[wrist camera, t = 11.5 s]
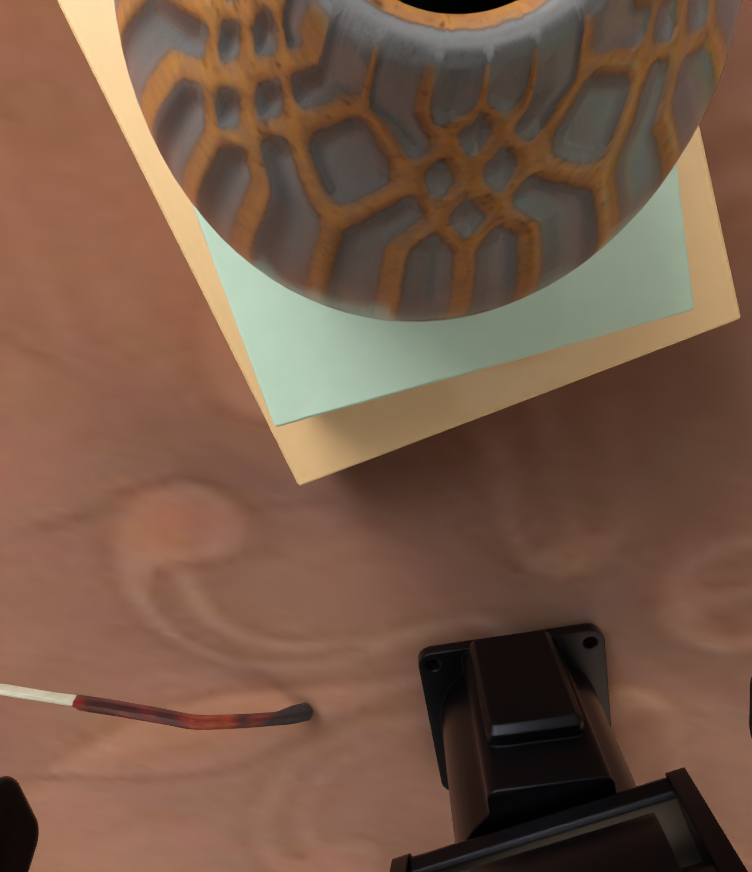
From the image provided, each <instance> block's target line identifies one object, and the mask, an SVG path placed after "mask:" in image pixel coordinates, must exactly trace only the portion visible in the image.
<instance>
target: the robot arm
mask: <svg viewBox="0 0 752 872" xmlns="http://www.w3.org/2000/svg"><path fill="white" fill-rule="evenodd" d="M587 637H593V638H592V639H591V640H590V641H583V640H584V639H585V638H587ZM432 659H433V660H437V662H436V663H434V664H432V663H428V661H429V660H432ZM418 661H419V670H420V675H421V680H422V685H423V690H424V695H425V700H426V705H427V710H428V715H429V720H430V725H431V730H432V736H433V741H434V746H435V751H436V756H437V761H438V766H439V771H440V776H441V781H442V784H443V786H444V787H445V788H446V789H448V790H449V794H450V803H451V811H452V820H453V829H454V837H455V844H452V845H449V846H445V847H442V848H439V849H436V850H433V851H429V852H426V853H423V854H420V855H417V856H413V857H412V855H411V854H407V855H404V856H401V857H398V858H394V859H393V860H392V863H391V869H390V872H748V871H747V870H746V868H745V866H744V865H743V863H742V861H741V860H740V858H739V856H738V855H737V853H736V851H735V850H734V848H733V847H732V845H731V843H730V842H729V840H728V838H727V837H726V835H725V833H724V832H723V830H722V828H721V827H720V825H719V823H718V822H717V820H716V819H715V817H714V815H713V814H712V812H711V810H710V809H709V807H708V805H707V804H706V802H705V800H704V799H703V797H702V795H701V794H700V792H699V791H698V789H697V787H696V786H695V784H694V782H693V781H692V779H691V777H690V776H689V774H688V772H687V771H686V769H685V768H681V769H678V770H674V771H671V772H668V773H665V774H666V778H662V779H659V780H656V781H653V782H650V783H646V784H643V785H640V786H636V784H635V782H634V780H633V777H632V775H631V773H630V770H629V768H628V766H627V764H626V761H625V759H624V757H623V754H622V752H621V750H620V748H619V745H618V743H617V741H616V738H615V736H614V734H613V732H612V729H611V720H610V707H609V693H608V680H607V666H606V653H605V640H604V637H603V635H602V633H601V631H600V629H599V628H598V627H597V626H596V625H593V624H580V625H573V626H566V627H560V628H553V629H546V630H539V631H532V632H525V633H519V634H512V635H505V636H498V637H491V638H484V639H478V640H471V641H464V642H457V643H450V644H443V645H437V646H430V647H427V648H424V649H423V650H422V651H421V652H420V654H419V657H418ZM749 727H750V734H751V737H752V677H751V681H750V715H749ZM38 834H39V829H38V822H37V819H36V817H35V815H34V813H33V811H32V809H31V807H30V805H29V803H28V801H27V799H26V797H25V795H24V793H23V791H22V789H21V787H20V785H19V783H18V782H17V780H15V779H14V778H12V777H9V776H3V777H0V872H28V871H29V868H30V865H31V862H32V859H33V855H34V852H35V849H36V846H37V841H38Z"/></svg>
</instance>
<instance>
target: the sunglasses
mask: <svg viewBox="0 0 752 872" xmlns="http://www.w3.org/2000/svg"><path fill="white" fill-rule="evenodd" d="M0 695H4V696H10V697H16V698H22V699H28V700H35V701H41V702H48V703H55V704H61V705H68V706H73V707H75V708H76V709H77V710H79V711H86V712H92V713H99V714H105V715H112V716H119V717H124V718H130V719H136V720H142V721H148V722H153V723H159V724H165V725H170V726H175V727H180V728H185V729H194V730H212V729H235V728H251V727H263V726H275V725H288V724H294V723H300V722H304V721H308V720H310V719H311V718H312V716H313V710H312V709H311V708H310V706H309V705H308V704H307V703H303V704H298V705H293V706H291V707H288V708H285V709H283V710H280V711H277V712H271V713H256V714H234V715H193V714H187V713H182V712H177V711H172V710H167V709H161V708H156V707H150V706H145V705H139V704H134V703H128V702H122V701H117V700H110V699H103V698H96V697H90V696H83V695H73V694H65V693H58V692H50V691H44V690H38V689H32V688H26V687H20V686H14V685H8V684H2V683H0Z"/></svg>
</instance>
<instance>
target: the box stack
mask: <svg viewBox="0 0 752 872" xmlns="http://www.w3.org/2000/svg"><path fill="white" fill-rule="evenodd" d="M57 1H58V3H59V5H60V7H61V9H62V11H63V13H64V15H65V17H66V19H67V21H68V23H69V25H70V27H71V29H72V31H73V33H74V35H75V37H76V39H77V41H78V43H79V45H80V47H81V49H82V51H83V53H84V55H85V57H86V59H87V61H88V64H89V66H90V68H91V70H92V72H93V74H94V76H95V78H96V80H97V82H98V84H99V86H100V88H101V90H102V92H103V94H104V96H105V98H106V100H107V102H108V104H109V106H110V108H111V110H112V112H113V114H114V116H115V118H116V120H117V122H118V124H119V126H120V128H121V130H122V132H123V134H124V136H125V138H126V140H127V142H128V144H129V146H130V148H131V150H132V152H133V154H134V156H135V158H136V160H137V162H138V164H139V166H140V168H141V170H142V172H143V174H144V176H145V178H146V180H147V182H148V184H149V186H150V188H151V190H152V192H153V194H154V196H155V198H156V200H157V202H158V204H159V206H160V208H161V210H162V212H163V214H164V216H165V218H166V220H167V222H168V224H169V226H170V228H171V230H172V232H173V234H174V236H175V238H176V240H177V242H178V244H179V246H180V248H181V250H182V252H183V254H184V256H185V258H186V260H187V262H188V264H189V266H190V268H191V270H192V272H193V274H194V277H195V279H196V281H197V283H198V285H199V287H200V289H201V291H202V293H203V295H204V297H205V299H206V301H207V303H208V305H209V307H210V309H211V311H212V313H213V315H214V317H215V319H216V321H217V323H218V325H219V327H220V329H221V331H222V333H223V335H224V337H225V339H226V341H227V343H228V345H229V347H230V349H231V351H232V353H233V355H234V357H235V359H236V361H237V363H238V365H239V367H240V369H241V371H242V373H243V375H244V377H245V379H246V381H247V383H248V385H249V387H250V389H251V391H252V393H253V395H254V397H255V399H256V401H257V403H258V405H259V407H260V409H261V411H262V413H263V415H264V417H265V419H266V421H267V423H268V425H269V427H270V429H271V431H272V433H273V435H274V437H275V439H276V441H277V443H278V445H279V447H280V449H281V451H282V453H283V455H284V457H285V459H286V461H287V463H288V465H289V467H290V469H291V471H292V473H293V475H294V477H295V479H296V481H297V483H298V485H299V486H301V485H304V484H307V483H309V482H312V481H315V480H317V479H320V478H322V477H325V476H328V475H330V474H333V473H336V472H338V471H341V470H343V469H346V468H349V467H351V466H354V465H357V464H359V463H362V462H365V461H367V460H370V459H372V458H375V457H378V456H380V455H383V454H386V453H388V452H391V451H393V450H396V449H399V448H401V447H404V446H407V445H409V444H412V443H414V442H417V441H420V440H422V439H425V438H428V437H430V436H433V435H435V434H438V433H441V432H443V431H446V430H449V429H451V428H454V427H457V426H459V425H462V424H464V423H467V422H470V421H472V420H475V419H478V418H480V417H483V416H485V415H488V414H491V413H493V412H496V411H499V410H501V409H504V408H506V407H509V406H512V405H514V404H517V403H520V402H522V401H525V400H527V399H530V398H533V397H535V396H538V395H541V394H543V393H546V392H548V391H551V390H554V389H556V388H559V387H562V386H564V385H567V384H570V383H572V382H575V381H577V380H580V379H583V378H585V377H588V376H591V375H593V374H596V373H598V372H601V371H604V370H606V369H609V368H612V367H614V366H617V365H619V364H622V363H625V362H627V361H630V360H633V359H635V358H638V357H640V356H643V355H646V354H648V353H651V352H654V351H656V350H659V349H662V348H664V347H667V346H669V345H672V344H675V343H677V342H680V341H683V340H685V339H688V338H690V337H693V336H696V335H698V334H701V333H704V332H706V331H709V330H711V329H714V328H717V327H719V326H722V325H725V324H727V323H730V322H732V321H735V320H738V319H739V318H740V312H739V307H738V302H737V298H736V293H735V289H734V284H733V279H732V275H731V270H730V266H729V261H728V256H727V252H726V247H725V243H724V238H723V233H722V229H721V224H720V220H719V215H718V210H717V206H716V201H715V197H714V192H713V187H712V183H711V178H710V174H709V169H708V164H707V160H706V155H705V151H704V146H703V141H702V137H701V132H700V128H699V125H698V127H697V129H696V131H695V132H694V134H693V136H692V138H691V140H690V141H689V143H688V145H687V146H686V148H685V150H684V151H683V153H682V154H681V156H680V158H679V159H678V161H677V163H676V164H675V166H674V167H673V169H672V170H671V172H670V173H669V175H668V176H667V177H666V179H665V180H664V182H663V183H662V184H661V186H660V187H659V189H658V190H657V191H656V192H655V194H654V195H653V196H652V197H651V199H650V200H649V201H648V202H647V203H646V205H645V206H644V207H643V208H642V209H641V210H640V212H639V213H638V214H637V215H636V216H635V217H634V218H633V219H632V220H631V221H630V222H629V223H628V224H627V225H626V226H625V227H624V228H623V229H622V230H621V231H620V232H619V233H618V234H617V235H616V236H615V237H614V238H613V239H612V240H611V241H610V242H609V243H607V244H606V245H605V246H604V247H603V248H602V249H601V250H599V251H598V252H597V253H596V254H595V255H593V256H592V257H591V258H590V259H588V260H587V261H586V262H585V263H583V264H582V265H580V266H579V267H577V268H576V269H574V270H573V271H572V272H570V273H569V274H567V275H566V276H564V277H562V278H561V279H559V280H557V281H556V282H554V283H552V284H551V285H549V286H547V287H545V288H543V289H541V290H539V291H537V292H535V293H533V294H531V295H529V296H527V297H525V298H523V299H521V300H518V301H516V302H513V303H511V304H508V305H506V306H503V307H500V308H497V309H494V310H491V311H487V312H484V313H480V314H476V315H472V316H467V317H463V318H456V319H450V320H442V321H430V322H399V321H386V320H379V319H373V318H366V317H362V316H357V315H353V314H349V313H345V312H342V311H339V310H336V309H333V308H330V307H326V306H324V305H321V304H319V303H317V302H314V301H312V300H309V299H307V298H305V297H303V296H301V295H299V294H297V293H295V292H293V291H291V290H289V289H287V288H286V287H284V286H282V285H281V284H279V283H277V282H276V281H274V280H272V279H271V278H269V277H268V276H266V275H265V274H264V273H262V272H261V271H259V270H258V269H257V268H255V267H254V266H252V265H251V264H250V263H249V262H248V261H246V260H245V259H244V258H243V257H242V256H240V255H239V254H238V253H237V252H236V251H235V250H234V249H233V248H231V247H230V246H229V245H228V244H227V243H226V242H225V241H224V240H223V239H222V238H221V237H220V236H219V235H218V234H217V233H216V231H215V230H214V229H213V228H212V227H211V226H210V225H209V224H208V223H207V221H206V220H205V219H204V218H203V217H202V215H201V214H200V213H199V211H198V210H197V209H196V208H195V206H194V205H193V204H192V202H191V201H190V200H189V199H188V197H187V196H186V194H185V193H184V191H183V190H182V188H181V187H180V185H179V184H178V182H177V181H176V180H175V178H174V176H173V175H172V173H171V171H170V170H169V168H168V166H167V164H166V163H165V161H164V159H163V157H162V156H161V154H160V152H159V150H158V147H157V145H156V143H155V141H154V139H153V137H152V135H151V133H150V131H149V128H148V126H147V123H146V121H145V118H144V116H143V113H142V111H141V109H140V106H139V104H138V101H137V98H136V95H135V92H134V89H133V86H132V83H131V80H130V77H129V74H128V70H127V66H126V62H125V58H124V54H123V50H122V46H121V41H120V35H119V30H118V25H117V19H116V12H115V5H114V0H57Z"/></svg>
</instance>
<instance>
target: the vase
mask: <svg viewBox="0 0 752 872" xmlns="http://www.w3.org/2000/svg"><path fill="white" fill-rule="evenodd" d="M741 3H742V0H114V5H115V12H116V19H117V25H118V30H119V35H120V41H121V46H122V50H123V54H124V58H125V62H126V66H127V70H128V74H129V77H130V80H131V83H132V86H133V89H134V92H135V95H136V98H137V101H138V104H139V106H140V109H141V111H142V113H143V116H144V118H145V121H146V123H147V126H148V128H149V131H150V133H151V135H152V137H153V139H154V141H155V143H156V145H157V147H158V150H159V152H160V154H161V156H162V157H163V159H164V161H165V163H166V164H167V166H168V168H169V170H170V171H171V173H172V175H173V176H174V178H175V180H176V181H177V182H178V184H179V185H180V187H181V188H182V190H183V191H184V193H185V194H186V196H187V197H188V199H189V200H190V201H191V202H192V204H193V205H194V206H195V208H196V209H197V210H198V211H199V213H200V214H201V215H202V217H203V218H204V219H205V220H206V221H207V223H208V224H209V225H210V226H211V227H212V228H213V229H214V230H215V231H216V233H217V234H218V235H219V236H220V237H221V238H222V239H223V240H224V241H225V242H226V243H227V244H228V245H229V246H230V247H231V248H233V249H234V250H235V251H236V252H237V253H238V254H239V255H240V256H242V257H243V258H244V259H245V260H246V261H248V262H249V263H250V264H251V265H252V266H254V267H255V268H257V269H258V270H259V271H261V272H262V273H264V274H265V275H266V276H268V277H269V278H271V279H272V280H274V281H276V282H277V283H279V284H281V285H282V286H284V287H286V288H287V289H289V290H291V291H293V292H295V293H297V294H299V295H301V296H303V297H305V298H307V299H309V300H312V301H314V302H317V303H319V304H321V305H324V306H326V307H330V308H333V309H336V310H339V311H342V312H345V313H349V314H353V315H357V316H362V317H366V318H373V319H379V320H386V321H399V322H430V321H442V320H450V319H456V318H463V317H467V316H472V315H476V314H480V313H484V312H487V311H491V310H494V309H497V308H500V307H503V306H506V305H508V304H511V303H513V302H516V301H518V300H521V299H523V298H525V297H527V296H529V295H531V294H533V293H535V292H537V291H539V290H541V289H543V288H545V287H547V286H549V285H551V284H552V283H554V282H556V281H557V280H559V279H561V278H562V277H564V276H566V275H567V274H569V273H570V272H572V271H573V270H574V269H576V268H577V267H579V266H580V265H582V264H583V263H585V262H586V261H587V260H588V259H590V258H591V257H592V256H593V255H595V254H596V253H597V252H598V251H599V250H601V249H602V248H603V247H604V246H605V245H606V244H607V243H609V242H610V241H611V240H612V239H613V238H614V237H615V236H616V235H617V234H618V233H619V232H620V231H621V230H622V229H623V228H624V227H625V226H626V225H627V224H628V223H629V222H630V221H631V220H632V219H633V218H634V217H635V216H636V215H637V214H638V213H639V212H640V210H641V209H642V208H643V207H644V206H645V205H646V203H647V202H648V201H649V200H650V199H651V197H652V196H653V195H654V194H655V192H656V191H657V190H658V189H659V187H660V186H661V184H662V183H663V182H664V180H665V179H666V177H667V176H668V175H669V173H670V172H671V170H672V169H673V167H674V166H675V164H676V163H677V161H678V159H679V158H680V156H681V154H682V153H683V151H684V150H685V148H686V146H687V145H688V143H689V141H690V140H691V138H692V136H693V134H694V132H695V131H696V129H697V127H698V125H699V123H700V121H701V119H702V117H703V116H704V113H705V111H706V109H707V107H708V105H709V102H710V100H711V98H712V96H713V93H714V91H715V89H716V86H717V84H718V81H719V78H720V76H721V73H722V70H723V67H724V65H725V62H726V59H727V55H728V52H729V49H730V45H731V42H732V39H733V35H734V32H735V28H736V24H737V20H738V15H739V11H740V7H741Z"/></svg>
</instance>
